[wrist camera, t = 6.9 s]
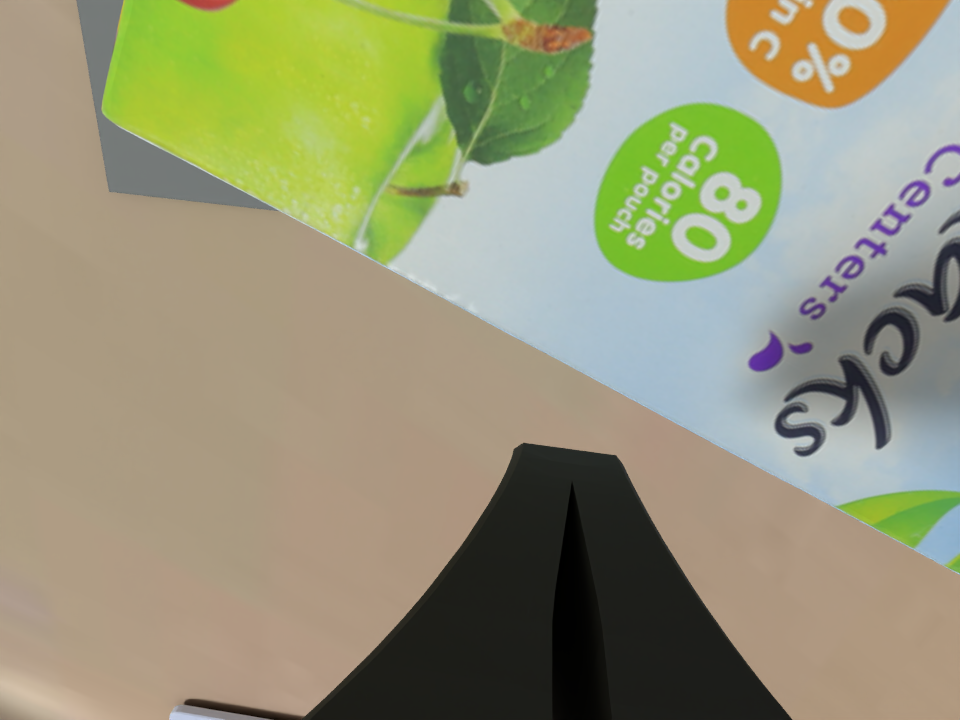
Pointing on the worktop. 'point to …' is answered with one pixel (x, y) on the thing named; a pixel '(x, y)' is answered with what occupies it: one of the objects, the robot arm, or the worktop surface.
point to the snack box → (627, 198)
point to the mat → (128, 155)
